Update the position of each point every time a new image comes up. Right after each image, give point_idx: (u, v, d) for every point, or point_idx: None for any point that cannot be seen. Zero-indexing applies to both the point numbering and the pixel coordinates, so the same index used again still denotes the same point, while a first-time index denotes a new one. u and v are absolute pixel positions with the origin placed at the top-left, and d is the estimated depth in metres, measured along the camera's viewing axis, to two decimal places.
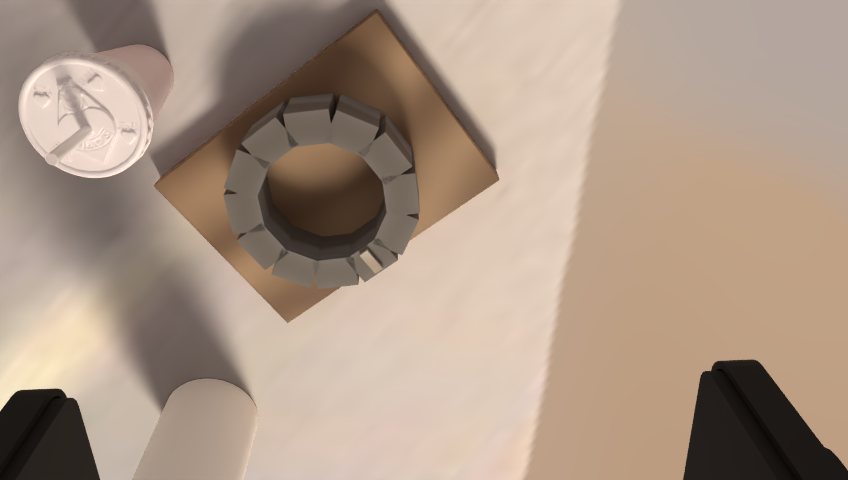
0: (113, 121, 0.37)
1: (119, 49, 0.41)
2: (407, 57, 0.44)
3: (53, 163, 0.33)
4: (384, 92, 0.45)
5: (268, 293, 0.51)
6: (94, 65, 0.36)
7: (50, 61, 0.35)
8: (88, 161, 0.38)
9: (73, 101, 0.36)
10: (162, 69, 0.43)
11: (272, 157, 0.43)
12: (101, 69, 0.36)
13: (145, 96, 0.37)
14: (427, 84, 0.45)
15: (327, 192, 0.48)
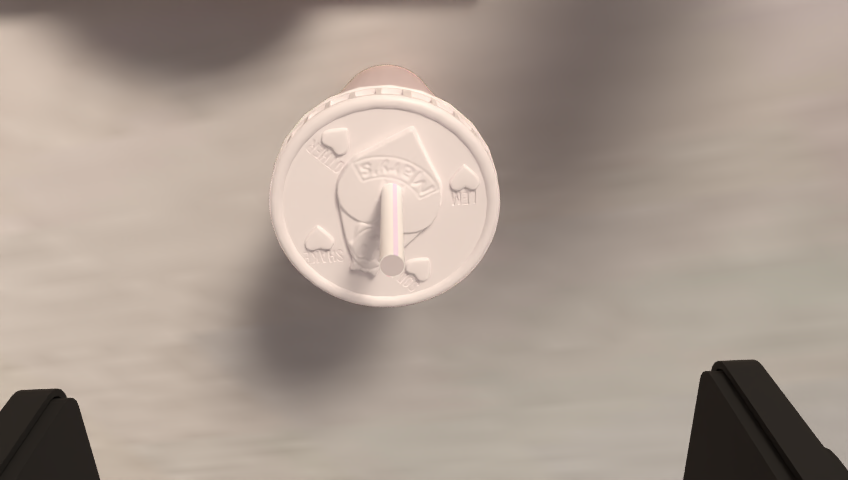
0: (339, 178, 0.19)
1: None
2: None
3: (395, 258, 0.16)
4: None
5: None
6: (301, 262, 0.21)
7: (358, 303, 0.21)
8: (438, 146, 0.19)
9: (371, 242, 0.20)
10: None
11: None
12: (294, 251, 0.20)
13: (274, 168, 0.20)
14: None
15: None
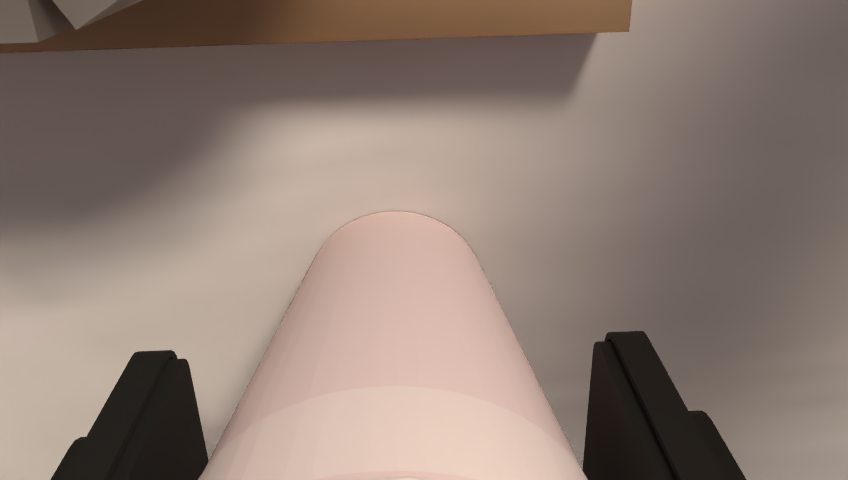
0: None
1: None
2: None
3: None
4: None
5: None
6: None
7: None
8: None
9: None
10: None
11: None
12: None
13: None
14: None
15: None
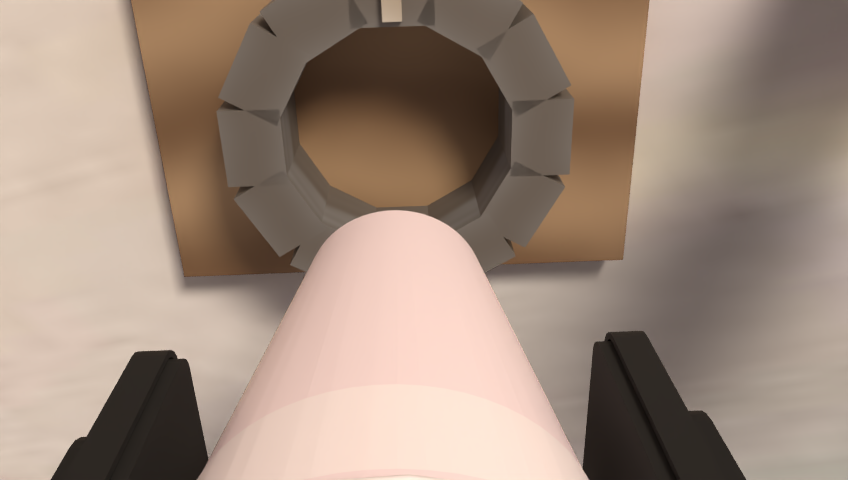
0: None
1: None
2: (172, 205, 0.29)
3: None
4: None
5: None
6: None
7: None
8: None
9: None
10: None
11: None
12: None
13: None
14: (163, 156, 0.28)
15: (408, 99, 0.27)
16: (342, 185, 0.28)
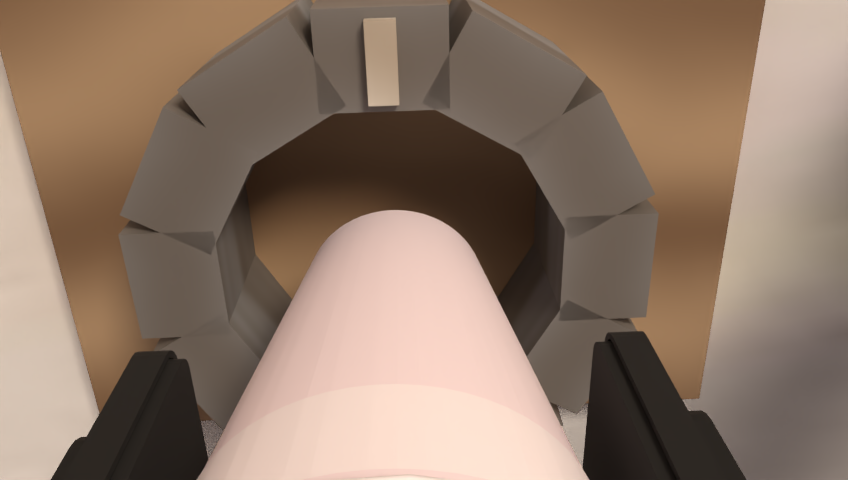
0: None
1: None
2: (81, 335, 0.21)
3: None
4: None
5: (735, 54, 0.18)
6: None
7: None
8: None
9: None
10: None
11: None
12: None
13: None
14: (64, 271, 0.20)
15: (409, 195, 0.19)
16: None
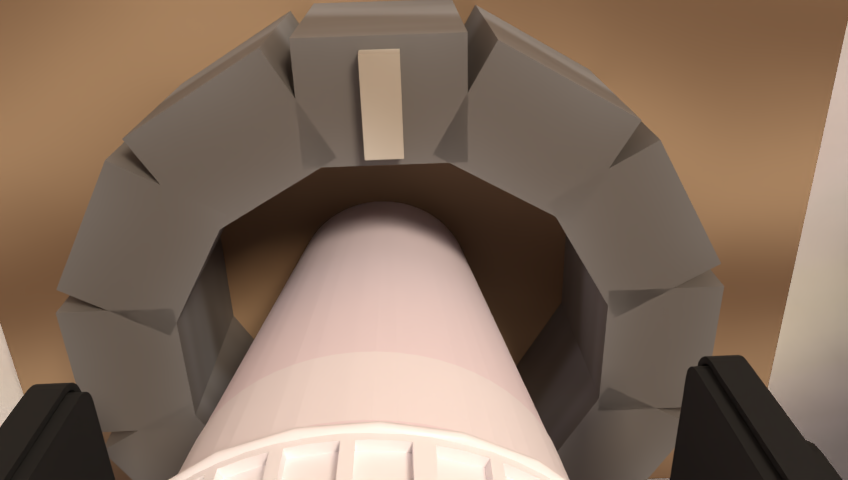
0: None
1: None
2: None
3: None
4: None
5: (808, 83, 0.15)
6: None
7: None
8: None
9: None
10: None
11: None
12: None
13: None
14: (8, 335, 0.17)
15: None
16: None
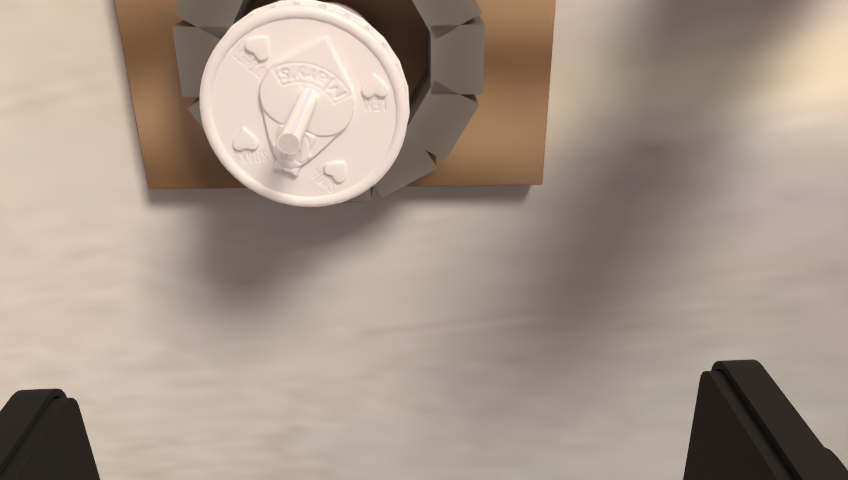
0: (261, 82, 0.22)
1: None
2: (138, 121, 0.32)
3: (291, 136, 0.18)
4: (190, 101, 0.32)
5: None
6: (229, 162, 0.23)
7: (282, 202, 0.23)
8: (350, 56, 0.22)
9: None
10: None
11: None
12: (223, 150, 0.23)
13: None
14: (130, 75, 0.31)
15: None
16: None
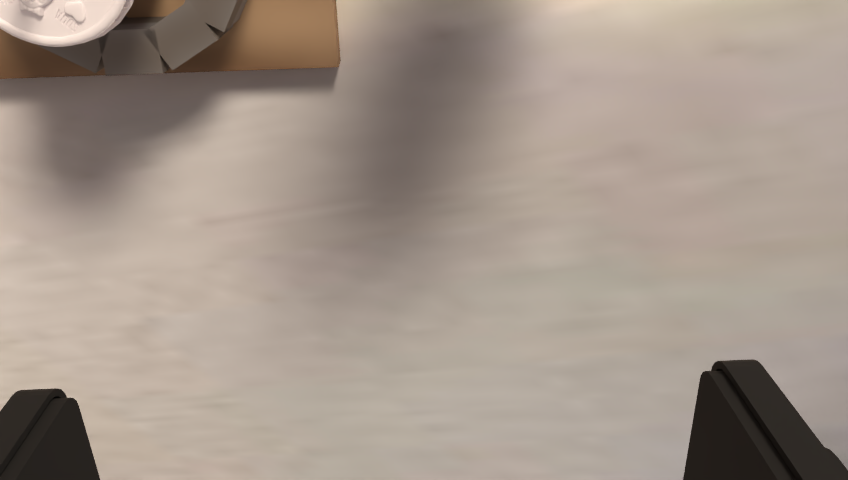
0: None
1: None
2: None
3: None
4: None
5: None
6: None
7: (32, 42, 0.27)
8: None
9: None
10: None
11: (136, 35, 0.33)
12: None
13: None
14: None
15: None
16: None
